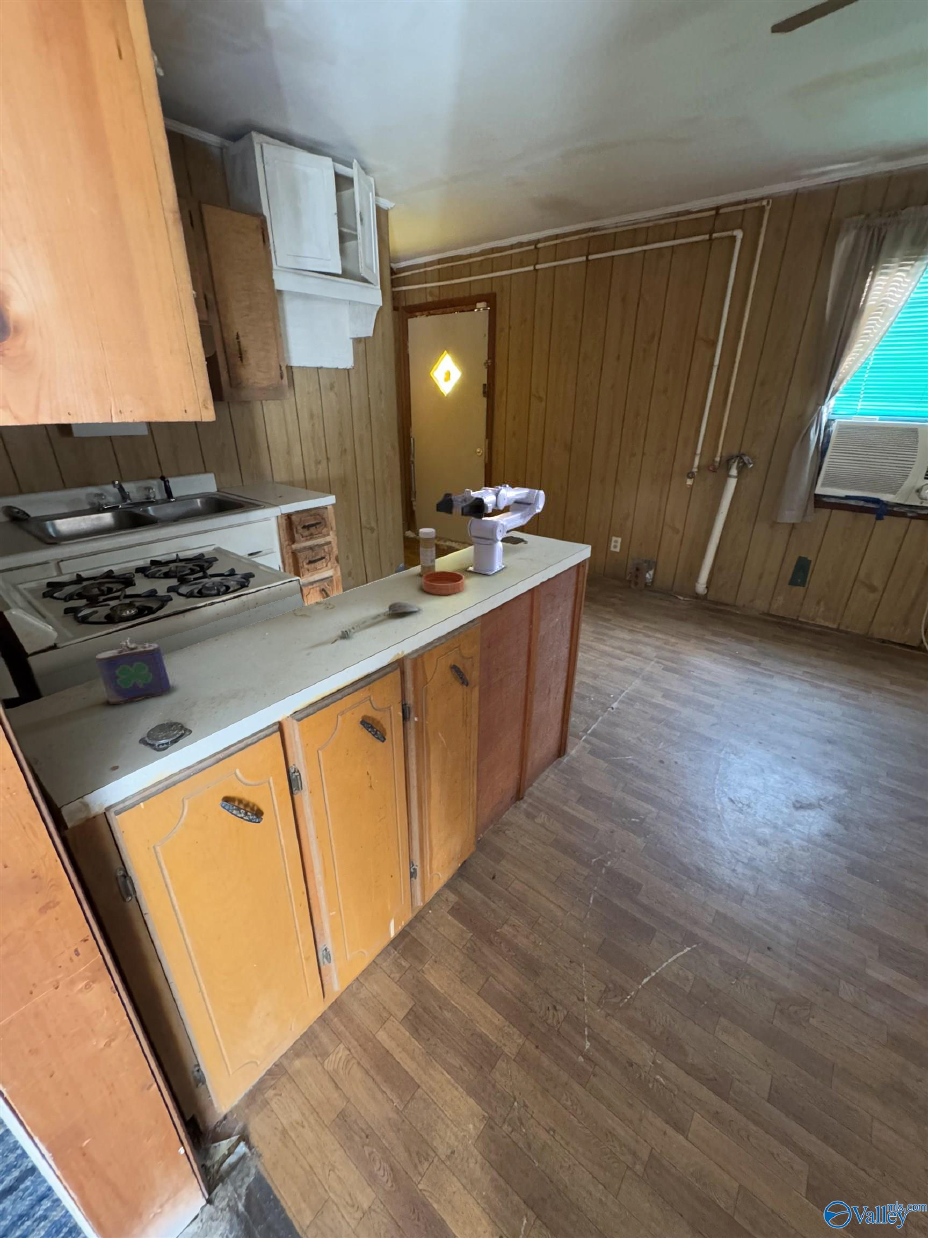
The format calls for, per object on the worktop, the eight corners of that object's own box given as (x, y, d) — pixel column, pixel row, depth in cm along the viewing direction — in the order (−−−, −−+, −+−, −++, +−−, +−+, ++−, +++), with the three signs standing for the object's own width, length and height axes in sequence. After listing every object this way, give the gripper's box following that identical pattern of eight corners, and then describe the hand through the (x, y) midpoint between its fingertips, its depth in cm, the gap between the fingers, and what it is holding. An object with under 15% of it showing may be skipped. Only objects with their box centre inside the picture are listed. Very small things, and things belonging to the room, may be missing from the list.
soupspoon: (424, 614, 122) (405, 608, 126) (423, 600, 121) (404, 595, 125) (352, 641, 107) (333, 634, 110) (351, 626, 105) (332, 619, 109)
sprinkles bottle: (429, 571, 150) (429, 526, 145) (438, 575, 147) (438, 529, 142) (417, 574, 148) (415, 529, 142) (426, 578, 145) (425, 532, 139)
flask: (108, 706, 84) (90, 649, 80) (111, 697, 86) (93, 641, 82) (171, 693, 88) (157, 638, 83) (171, 685, 90) (157, 631, 86)
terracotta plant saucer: (437, 578, 145) (437, 568, 143) (472, 585, 139) (472, 575, 138) (413, 590, 136) (413, 579, 134) (450, 598, 130) (450, 587, 129)
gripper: (455, 484, 141) (426, 490, 130) (500, 490, 134) (474, 497, 123) (454, 509, 144) (426, 517, 133) (498, 517, 137) (473, 525, 126)
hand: (449, 509), depth 128 cm, fingers open, 7 cm apart
